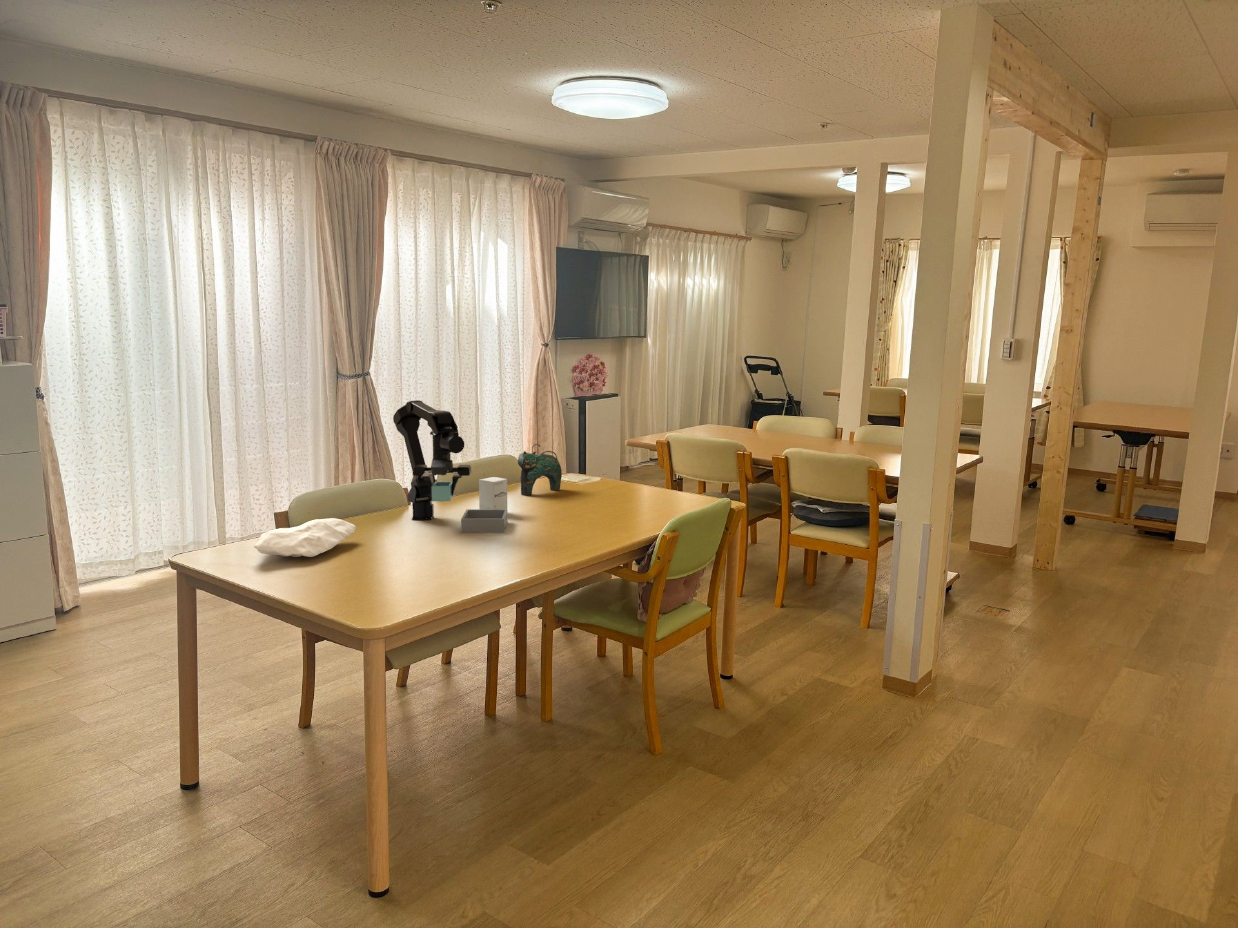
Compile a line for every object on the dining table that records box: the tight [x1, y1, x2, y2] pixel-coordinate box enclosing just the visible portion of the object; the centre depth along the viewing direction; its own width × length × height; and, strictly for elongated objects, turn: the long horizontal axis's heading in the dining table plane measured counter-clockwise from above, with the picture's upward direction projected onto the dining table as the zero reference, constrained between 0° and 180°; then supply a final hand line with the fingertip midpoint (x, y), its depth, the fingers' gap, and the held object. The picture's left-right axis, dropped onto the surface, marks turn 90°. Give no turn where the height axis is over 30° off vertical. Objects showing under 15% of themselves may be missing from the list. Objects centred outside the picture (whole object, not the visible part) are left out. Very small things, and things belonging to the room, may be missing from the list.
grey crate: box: [460, 508, 509, 533], centre depth 296 cm, size 14×14×4 cm
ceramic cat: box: [517, 443, 563, 497], centre depth 350 cm, size 20×6×20 cm, turn 132°
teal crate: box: [432, 481, 455, 502], centre depth 294 cm, size 6×8×5 cm
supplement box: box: [478, 476, 508, 510], centre depth 315 cm, size 7×7×13 cm
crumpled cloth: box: [253, 517, 356, 558], centre depth 264 cm, size 24×35×9 cm
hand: (442, 495), depth 295 cm, fingers closed on teal crate, 6 cm apart
